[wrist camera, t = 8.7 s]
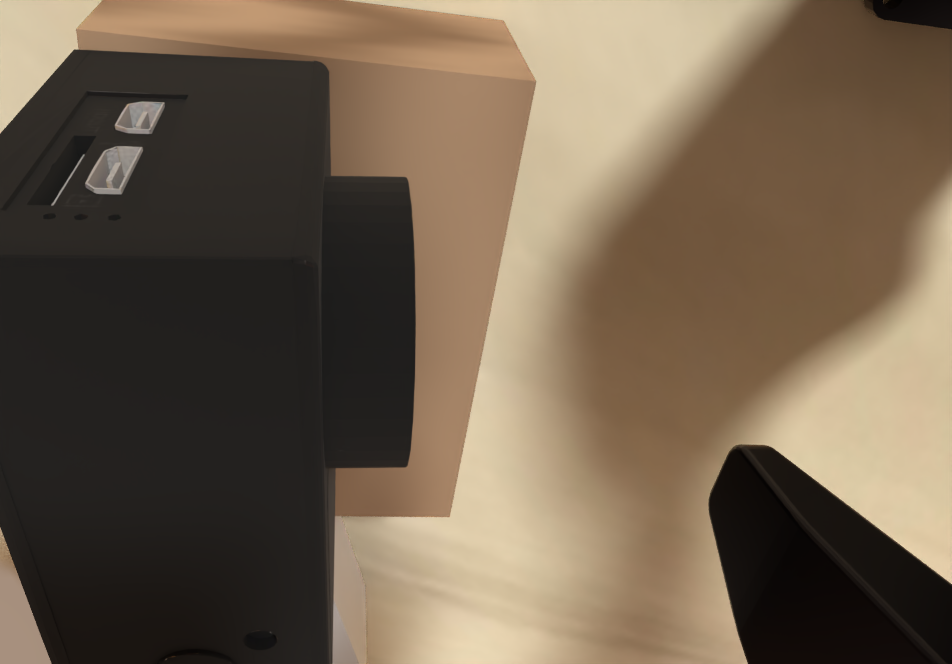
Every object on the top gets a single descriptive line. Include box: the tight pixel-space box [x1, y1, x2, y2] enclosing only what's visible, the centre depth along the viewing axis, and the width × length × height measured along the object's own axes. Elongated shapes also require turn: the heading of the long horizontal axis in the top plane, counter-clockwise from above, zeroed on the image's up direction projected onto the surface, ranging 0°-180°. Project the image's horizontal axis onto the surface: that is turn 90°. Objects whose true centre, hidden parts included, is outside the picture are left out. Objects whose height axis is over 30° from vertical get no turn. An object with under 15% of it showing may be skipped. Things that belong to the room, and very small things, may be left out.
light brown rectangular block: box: [76, 0, 536, 517], centre depth 19 cm, size 8×12×4 cm, turn 171°
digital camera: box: [0, 50, 416, 664], centre depth 15 cm, size 10×5×7 cm, turn 175°
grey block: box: [332, 516, 367, 664], centre depth 27 cm, size 5×5×4 cm
